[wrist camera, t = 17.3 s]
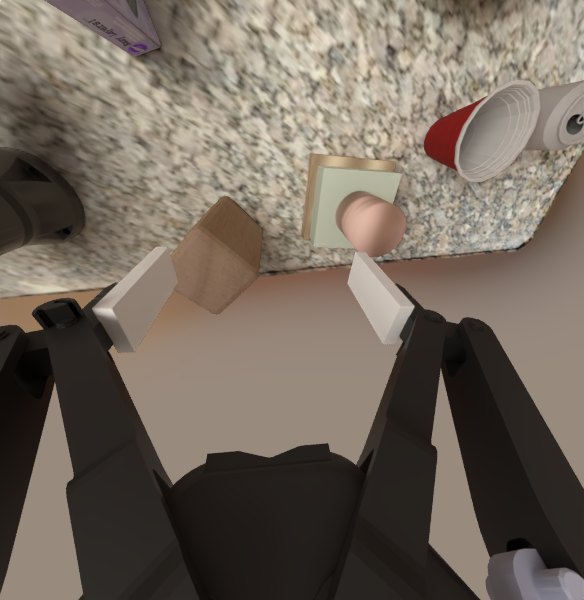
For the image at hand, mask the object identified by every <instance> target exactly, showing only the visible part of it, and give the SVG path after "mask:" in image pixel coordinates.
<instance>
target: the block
mask: <svg viewBox="0 0 584 600" xmlns="http://www.w3.org/2000/svg"><path fill="white" fill-rule="evenodd" d="M262 237H263V231H262V228H261V227H260V226H259V225H258V224H256V223H255V222H254V221H253V220H252V219H251V218H250V217H249V216H248V215H247V214H246V213H245V212H244V211H243V210H242V209H241V208H240V207H239V206H238V205H236V204H235V203H234V202H233V201H232V200H231V199H230V198H229V197H227V196H223V197H221V198H220V199H219V200H218V202H217V203H216V204H215V205H214V206H213V207H212V208H211V209H210V210H209V211H208V212H207V213H206V214H205V215H204V216H203V217H202V218H201V219H200V220H199V222H198V223H197V224H196V225H195V226H194V227H193V228H192V229H191V230H190V232H189V233H188V234H187V235H186V237H185V238H184V239H183V241H182V242H181V243H180V244H179V246H178V247H177V248H176V249H175V251H174V252H173V253H172V254H171V259H172V263H173V266H174V270H175V273H176V277H177V280H178V283H177V285H176V286H175V288H174V290H176V291H177V292H179V293H180V294H182V295H184V296H185V297H187V298H189V299H190V300H192V301H194V302H195V303H197V304H198V305H200V306H201V307H203V308H205V309H206V310H208V311H210V312H211V313H213V314H219V313H221V312H222V311H223V310H224V309H225V308H226V307H227V306H228V305H230V303H232V301H234V300H235V299H236V298H237V297H238V296H239V295H240V294H241V293H242V292H243V291H245V290H246V289H247V288H248V287H249V286H250V285H251V284H252V283H253V282H254V281H255V280H256V279H257V278H258V275H259V267H260V257H261V247H262Z"/></svg>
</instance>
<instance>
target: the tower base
mask: <svg viewBox="0 0 584 600" xmlns="http://www.w3.org/2000/svg"><path fill="white" fill-rule="evenodd" d="M396 163H397V162H392V161H384V160H374V159H363V158H353V157H343V156H332V155H322V154H311V153H310V157H309V166H308V176H307V185H306V195H305V204H304V213H303V223H302V235H303V238H304V240H311V239H310V230H311V221H312V213H313V204H314V195H315V187H316V178H317V170H318V165H322V166H335V167H349V168H363V169H376V170H388V171H393V172H394V169H395V166H396Z"/></svg>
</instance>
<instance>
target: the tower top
mask: <svg viewBox="0 0 584 600" xmlns="http://www.w3.org/2000/svg"><path fill="white" fill-rule="evenodd" d="M401 176H402V173H397V172H393V171H388V170H376V169H363V168H349V167H335V166H322V165H318V170H317V178H316V187H315V195H314V204H313V213H312V221H311V230H310V239H311V242H312V244H313V247H325V248H354V246H353V245H352V244H351V243H350V242H349V240H348V239H347V238H346V237H345V236H344V234H343V233H342V232H341V231H340V230H339V228H338V227H337V224H336V220H335V216H336V210H337V208H338V205H339V204H340V202H341V201H342V200H343V199H344V198H345V197H346V196H347V195H349V194H350V193H352V192H355V191H366V192H368V193H370V194H373V195H375V196H377V197H379V198H381V199H383V200H385V201H387V202H390V203H392V204H393V201H394V198H395V195H396V192H397V189H398V186H399V182H400V179H401ZM354 249H355V248H354Z"/></svg>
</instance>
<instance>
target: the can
mask: <svg viewBox="0 0 584 600" xmlns="http://www.w3.org/2000/svg"><path fill="white" fill-rule="evenodd" d="M538 91H539V98H540V107H541V108H540V111H539V115H538V119H537V123H536V127H535V129H534V131H533V133H532V135H531V137H530V138H529V140H528V142H527V144H526V146H525V147H524V149H523V150H561V149H564V148H567V147H569V146H570V145H574V144H577V143H580V142H582V141H583V140H584V81H579V82H574V83H569V84H564V85H559V86H554V87H549V88H545V89H540V90H538Z"/></svg>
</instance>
